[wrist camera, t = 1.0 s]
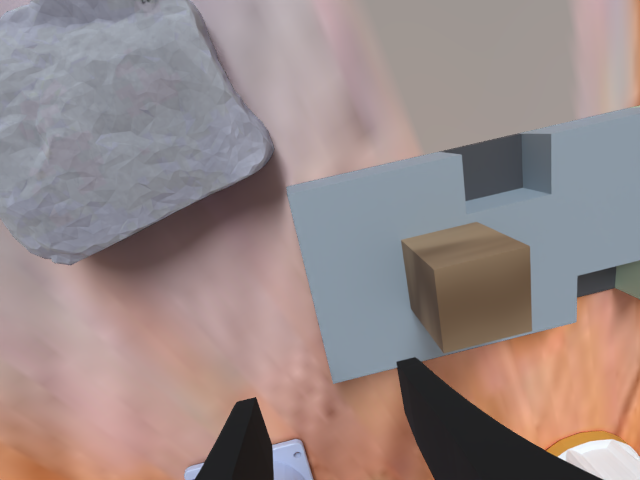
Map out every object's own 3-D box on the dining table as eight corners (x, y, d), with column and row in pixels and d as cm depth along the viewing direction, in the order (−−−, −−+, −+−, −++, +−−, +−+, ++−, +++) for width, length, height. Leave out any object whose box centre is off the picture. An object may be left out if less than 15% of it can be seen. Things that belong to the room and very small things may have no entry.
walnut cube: (481, 291, 19) (532, 330, 15) (410, 308, 19) (443, 353, 15) (476, 221, 18) (530, 246, 14) (400, 239, 18) (433, 269, 14)
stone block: (-15, 96, 18) (90, 268, 19) (-132, 57, 13) (19, 291, 14) (193, -13, 18) (286, 167, 19) (154, -92, 13) (281, 154, 14)
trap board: (327, 356, 22) (339, 410, 18) (286, 186, 19) (288, 203, 14) (675, 269, 23) (765, 301, 19) (696, 92, 20) (812, 81, 15)
